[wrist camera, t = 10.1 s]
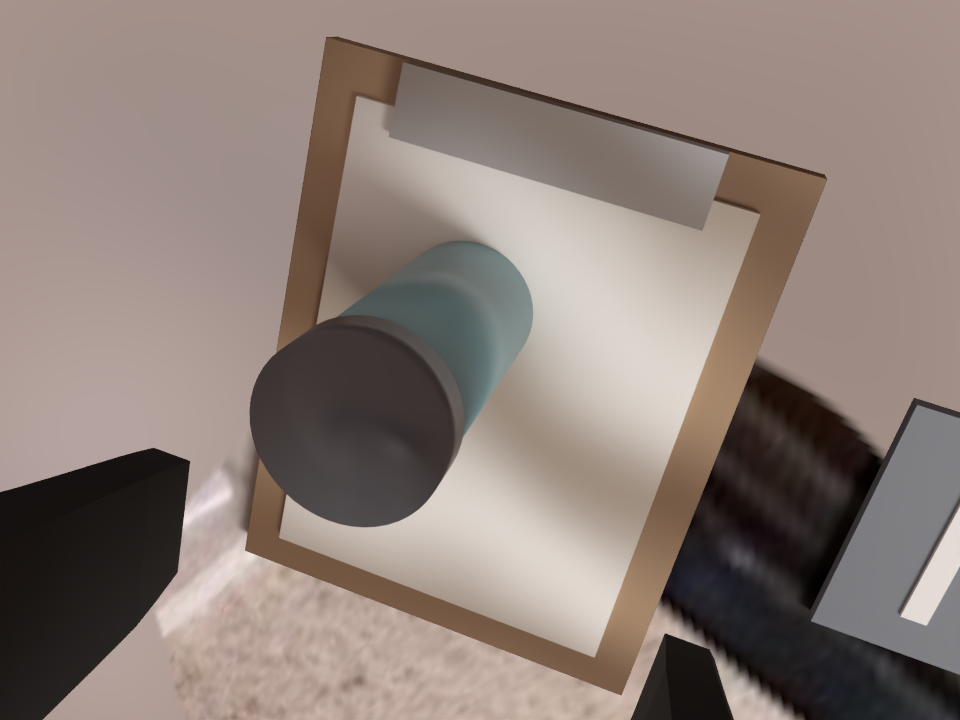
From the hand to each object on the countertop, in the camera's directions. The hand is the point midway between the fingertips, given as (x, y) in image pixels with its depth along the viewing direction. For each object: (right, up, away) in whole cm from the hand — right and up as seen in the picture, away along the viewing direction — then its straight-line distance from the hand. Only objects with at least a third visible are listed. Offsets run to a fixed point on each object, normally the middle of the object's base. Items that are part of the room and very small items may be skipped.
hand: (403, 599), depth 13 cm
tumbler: (+1, +5, +8) cm, 9 cm away
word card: (+12, -1, +8) cm, 14 cm away
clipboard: (+1, +3, +9) cm, 10 cm away
